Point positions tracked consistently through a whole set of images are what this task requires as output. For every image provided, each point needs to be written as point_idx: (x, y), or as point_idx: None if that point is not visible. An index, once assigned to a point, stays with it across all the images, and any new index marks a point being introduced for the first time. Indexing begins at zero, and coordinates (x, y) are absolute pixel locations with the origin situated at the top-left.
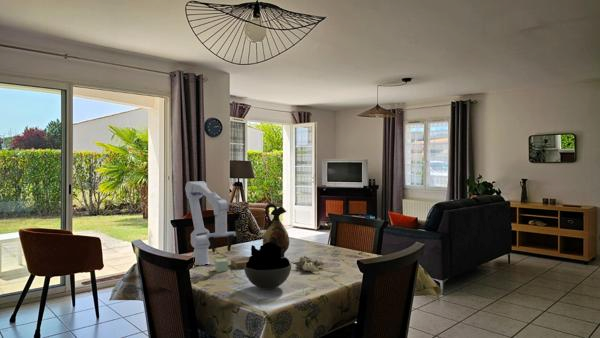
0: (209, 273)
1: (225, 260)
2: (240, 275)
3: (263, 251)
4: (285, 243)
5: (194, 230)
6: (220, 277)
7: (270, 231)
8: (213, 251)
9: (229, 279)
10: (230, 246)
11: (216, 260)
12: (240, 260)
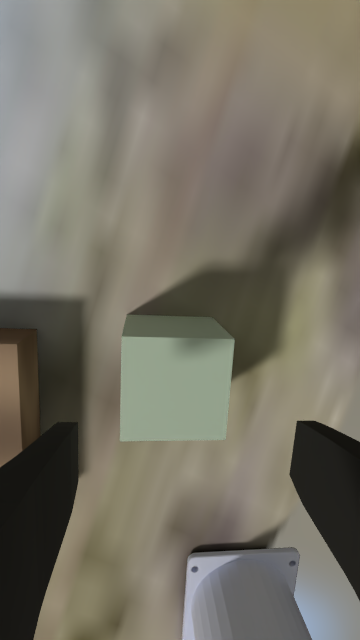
0: (280, 310)
1: (136, 370)
2: (68, 95)
3: None
4: None
5: None
6: (248, 136)
7: None
8: (326, 427)
9: (203, 16)
10: (22, 454)
11: (220, 413)
12: None
